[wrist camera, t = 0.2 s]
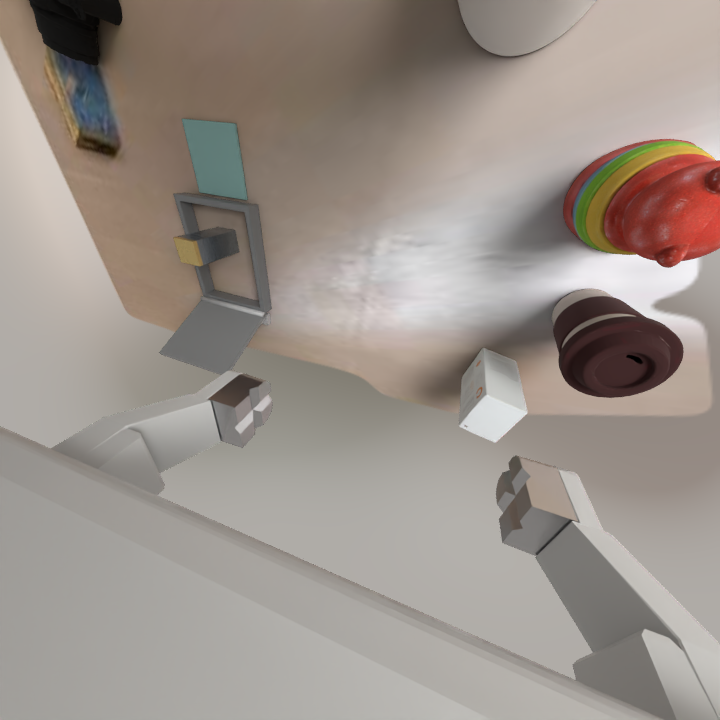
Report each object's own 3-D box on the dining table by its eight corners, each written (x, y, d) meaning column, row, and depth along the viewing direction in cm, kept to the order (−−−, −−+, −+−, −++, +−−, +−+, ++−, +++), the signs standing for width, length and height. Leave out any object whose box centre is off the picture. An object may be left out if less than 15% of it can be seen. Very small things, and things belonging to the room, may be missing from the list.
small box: (492, 390, 52) (495, 444, 42) (460, 377, 52) (457, 427, 42) (518, 360, 46) (529, 413, 36) (483, 345, 47) (484, 394, 37)
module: (217, 226, 52) (173, 237, 44) (235, 230, 51) (192, 241, 43) (222, 248, 54) (181, 262, 46) (239, 251, 53) (199, 266, 46)
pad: (183, 118, 43) (181, 118, 42) (236, 123, 40) (234, 123, 40) (201, 192, 49) (199, 192, 48) (247, 199, 47) (246, 200, 46)
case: (184, 192, 50) (87, 201, 37) (258, 204, 46) (177, 219, 34) (219, 319, 66) (160, 355, 54) (275, 335, 63) (225, 377, 51)
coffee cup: (551, 349, 43) (577, 414, 32) (531, 297, 40) (553, 349, 29) (633, 326, 38) (700, 396, 26) (618, 264, 35) (687, 313, 23)
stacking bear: (628, 253, 34) (730, 312, 20) (542, 237, 36) (582, 281, 22) (706, 143, 27) (937, 122, 13) (595, 131, 29) (699, 102, 15)
